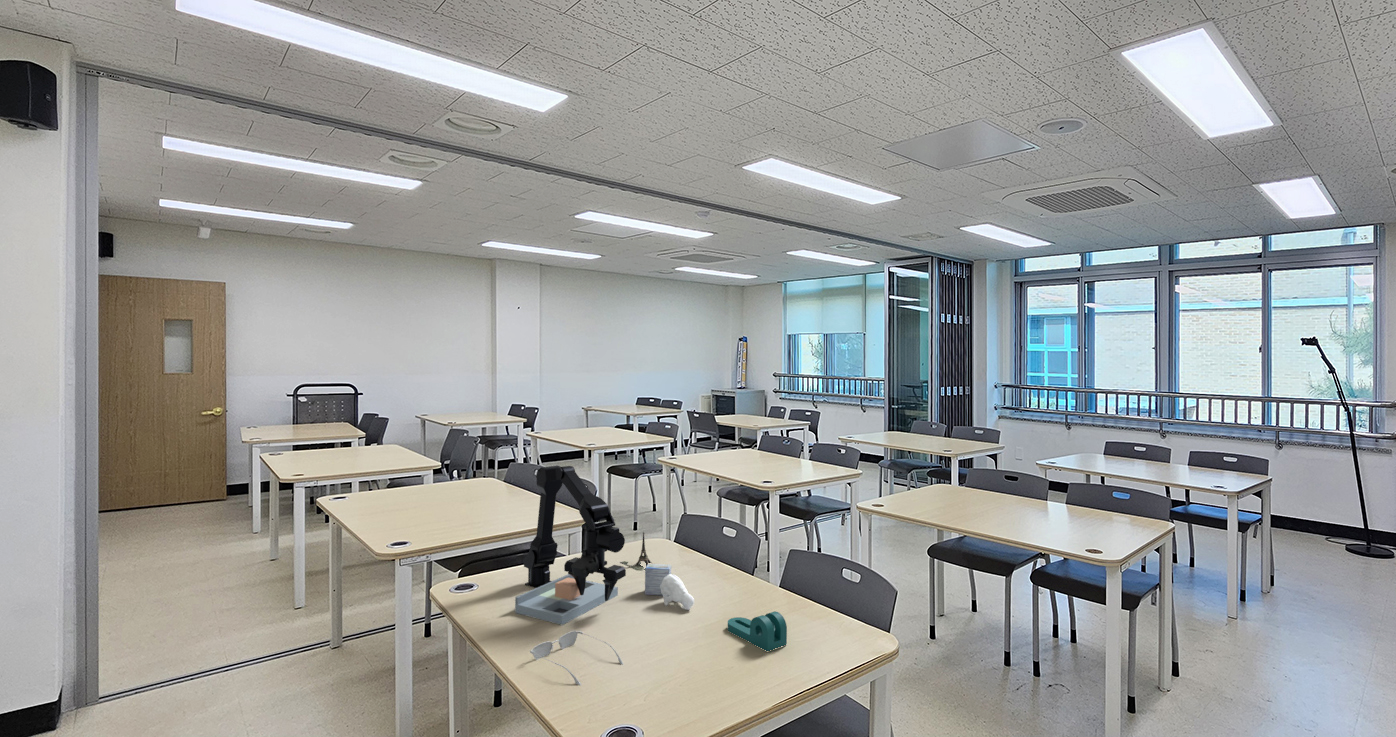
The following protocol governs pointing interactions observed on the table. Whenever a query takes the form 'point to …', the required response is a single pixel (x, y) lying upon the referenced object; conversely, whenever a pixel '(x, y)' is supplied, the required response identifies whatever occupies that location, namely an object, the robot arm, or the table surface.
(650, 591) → the medicine box
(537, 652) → the eyeglasses
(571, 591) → the block
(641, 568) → the eiffel tower figurine
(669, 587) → the white animal figurine
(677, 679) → the table surface
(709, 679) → the table surface
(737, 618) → the bracket
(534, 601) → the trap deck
